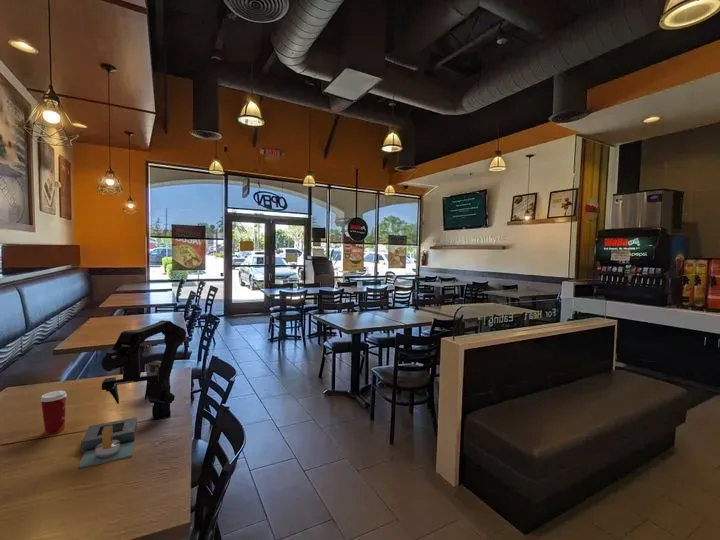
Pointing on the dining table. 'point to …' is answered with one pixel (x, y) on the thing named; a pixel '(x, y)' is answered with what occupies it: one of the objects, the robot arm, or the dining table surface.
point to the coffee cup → (54, 411)
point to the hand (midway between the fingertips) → (132, 401)
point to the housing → (121, 432)
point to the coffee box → (153, 367)
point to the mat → (91, 459)
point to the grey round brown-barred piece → (107, 444)
